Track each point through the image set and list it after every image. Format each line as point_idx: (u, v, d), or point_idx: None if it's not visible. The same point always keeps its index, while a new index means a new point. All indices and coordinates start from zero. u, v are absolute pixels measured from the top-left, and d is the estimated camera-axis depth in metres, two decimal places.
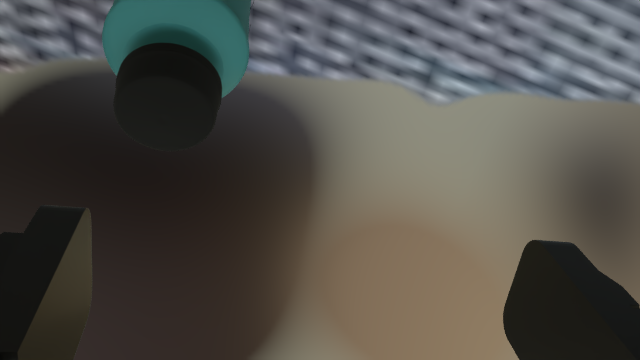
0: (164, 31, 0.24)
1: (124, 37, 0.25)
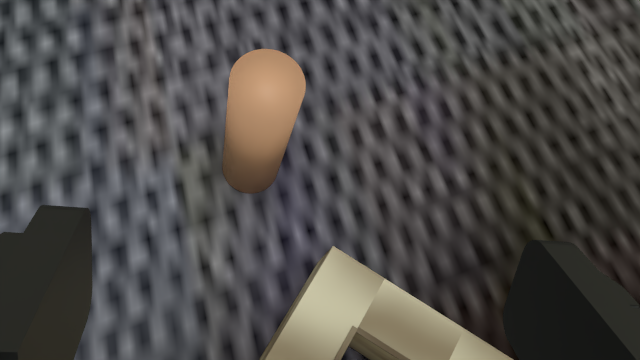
0: None
1: None
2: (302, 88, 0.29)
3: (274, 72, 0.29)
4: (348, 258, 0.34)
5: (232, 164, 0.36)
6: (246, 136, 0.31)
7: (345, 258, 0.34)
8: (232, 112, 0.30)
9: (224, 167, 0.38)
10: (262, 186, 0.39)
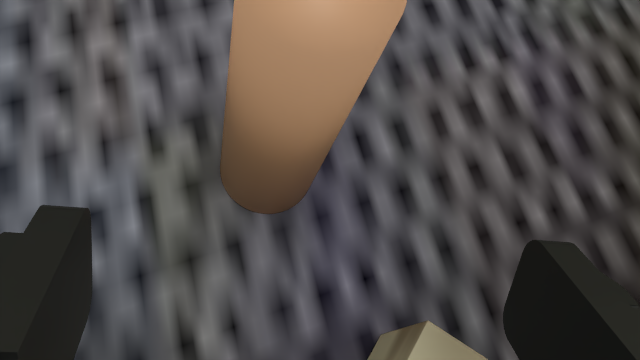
0: None
1: None
2: None
3: None
4: (456, 345, 0.18)
5: (238, 163, 0.20)
6: (270, 103, 0.15)
7: (451, 345, 0.18)
8: (242, 47, 0.14)
9: (223, 169, 0.22)
10: (288, 202, 0.22)
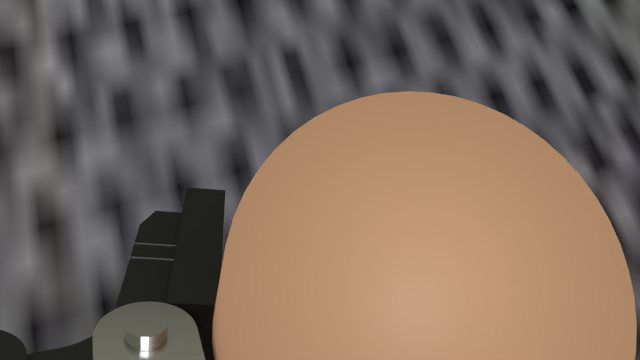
0: None
1: None
2: (621, 308, 0.05)
3: (469, 224, 0.05)
4: None
5: None
6: None
7: None
8: None
9: None
10: None
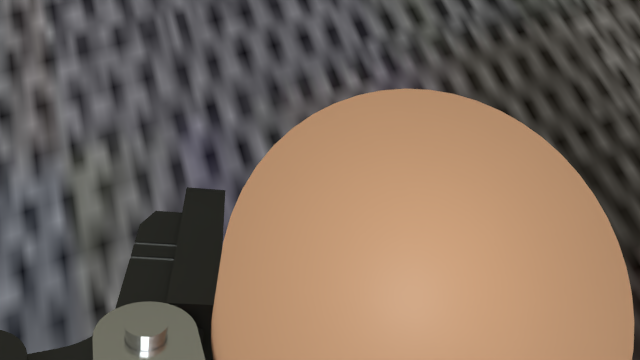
0: None
1: None
2: (619, 305, 0.05)
3: (468, 222, 0.05)
4: None
5: None
6: None
7: None
8: None
9: None
10: None
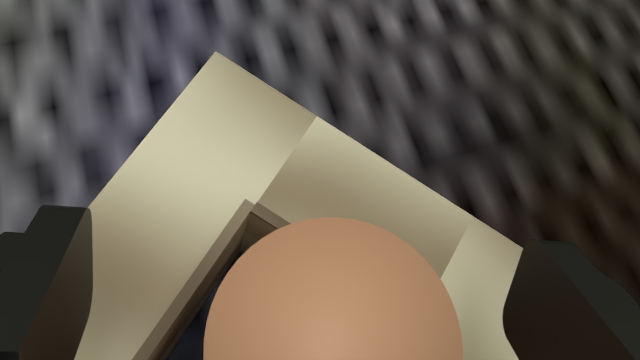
0: None
1: None
2: (453, 356, 0.09)
3: (359, 305, 0.09)
4: (245, 75, 0.17)
5: None
6: None
7: (239, 75, 0.17)
8: None
9: None
10: None
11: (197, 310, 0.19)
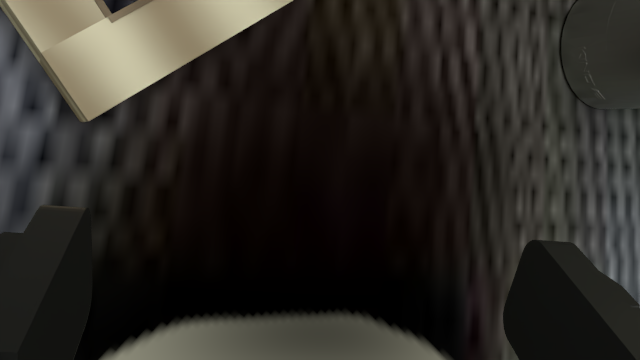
0: None
1: None
2: None
3: None
4: None
5: None
6: None
7: None
8: None
9: None
10: None
11: None
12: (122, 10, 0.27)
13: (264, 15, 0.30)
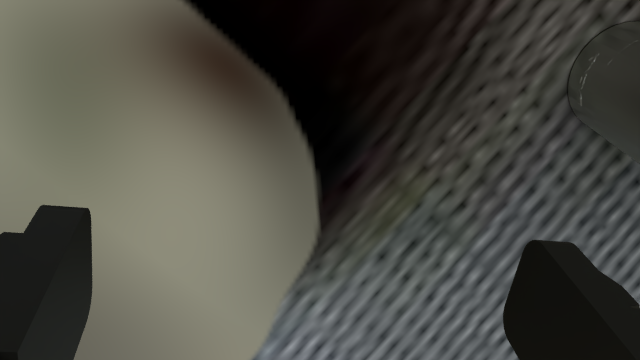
0: None
1: None
2: None
3: None
4: None
5: None
6: None
7: None
8: None
9: None
10: None
11: None
12: None
13: None
